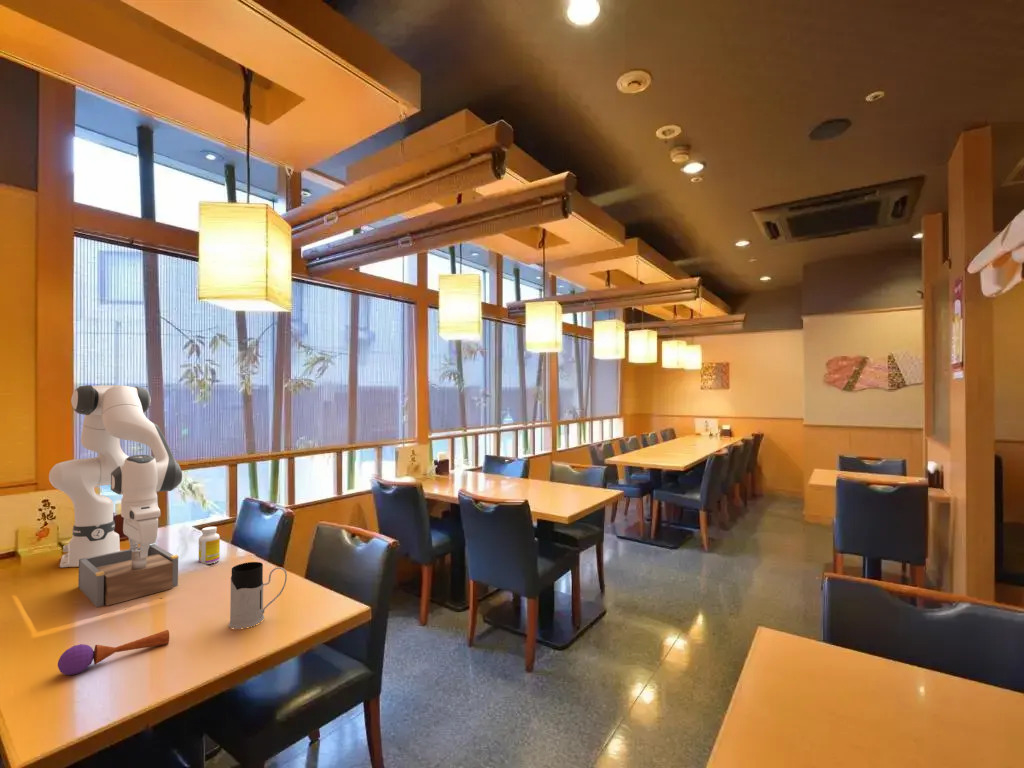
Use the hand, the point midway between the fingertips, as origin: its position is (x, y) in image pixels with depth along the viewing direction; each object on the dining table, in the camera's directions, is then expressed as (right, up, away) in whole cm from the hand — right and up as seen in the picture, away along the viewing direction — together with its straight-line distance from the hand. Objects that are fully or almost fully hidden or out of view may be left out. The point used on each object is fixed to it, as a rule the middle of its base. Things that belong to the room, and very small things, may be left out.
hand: (138, 553), depth 146 cm
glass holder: (+45, -13, -15) cm, 49 cm away
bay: (-8, -14, +6) cm, 17 cm away
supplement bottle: (+2, -15, +32) cm, 35 cm away
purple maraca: (+22, -13, -35) cm, 43 cm away
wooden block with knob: (-3, -12, +2) cm, 13 cm away
